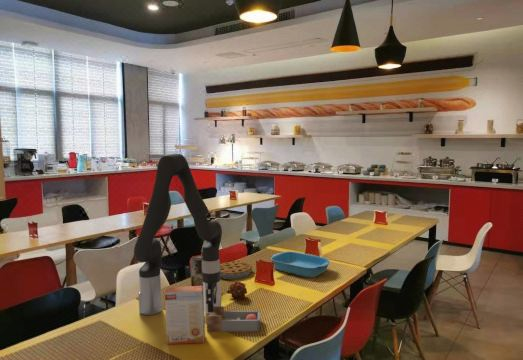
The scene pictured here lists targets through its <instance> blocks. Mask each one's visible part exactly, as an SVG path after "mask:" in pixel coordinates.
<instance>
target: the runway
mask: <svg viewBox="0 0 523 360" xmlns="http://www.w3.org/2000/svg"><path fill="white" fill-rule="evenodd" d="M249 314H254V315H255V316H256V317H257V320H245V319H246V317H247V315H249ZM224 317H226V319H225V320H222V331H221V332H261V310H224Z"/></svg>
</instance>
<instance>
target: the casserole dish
mask: <svg viewBox="0 0 523 360" xmlns="http://www.w3.org/2000/svg"><path fill="white" fill-rule="evenodd" d="M270 260H271V263H272V262H274V264H275V266H273V268H274V269H275V270H278V271H281V272H283V271H284V272H283V273H287V272H288V274H291V273H292V275H295V274H296V276H299V277H300V276H301V277H304V278H314V277H317V276H319V275H321V274H323V273H324V272H325V271H327V269H328V267H329V265H330V259H329V258H326V257H324V256H318V255H313V254H307V253H303V252H298V251H284V252H279V253H278V252H277V253H275V254H273V255H272V257H270Z"/></svg>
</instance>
